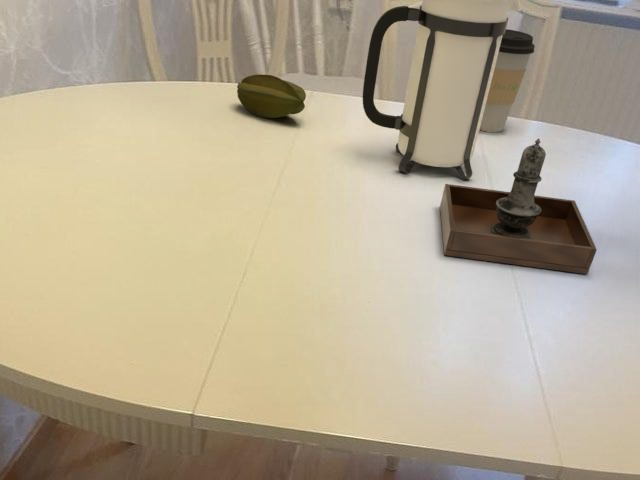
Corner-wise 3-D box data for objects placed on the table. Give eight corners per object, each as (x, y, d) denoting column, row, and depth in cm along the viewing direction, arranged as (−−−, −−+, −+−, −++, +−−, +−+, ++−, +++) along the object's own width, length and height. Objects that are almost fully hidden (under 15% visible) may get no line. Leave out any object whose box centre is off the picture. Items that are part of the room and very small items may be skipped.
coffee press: (427, 142, 129) (471, -75, 109) (497, 174, 120) (560, -56, 100) (350, 155, 120) (382, -76, 100) (420, 191, 111) (471, -56, 91)
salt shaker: (538, 231, 101) (568, 138, 93) (525, 246, 97) (556, 150, 89) (496, 219, 103) (522, 127, 95) (482, 233, 99) (508, 138, 91)
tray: (566, 223, 106) (574, 200, 104) (587, 274, 94) (596, 249, 92) (439, 206, 107) (445, 183, 105) (444, 255, 95) (450, 230, 93)
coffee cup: (492, 138, 133) (517, 42, 123) (450, 123, 138) (471, 29, 128) (522, 130, 138) (548, 38, 128) (480, 116, 143) (502, 25, 133)
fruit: (298, 107, 137) (302, 67, 133) (304, 129, 128) (308, 87, 124) (235, 103, 136) (237, 62, 132) (237, 124, 127) (238, 81, 123)
